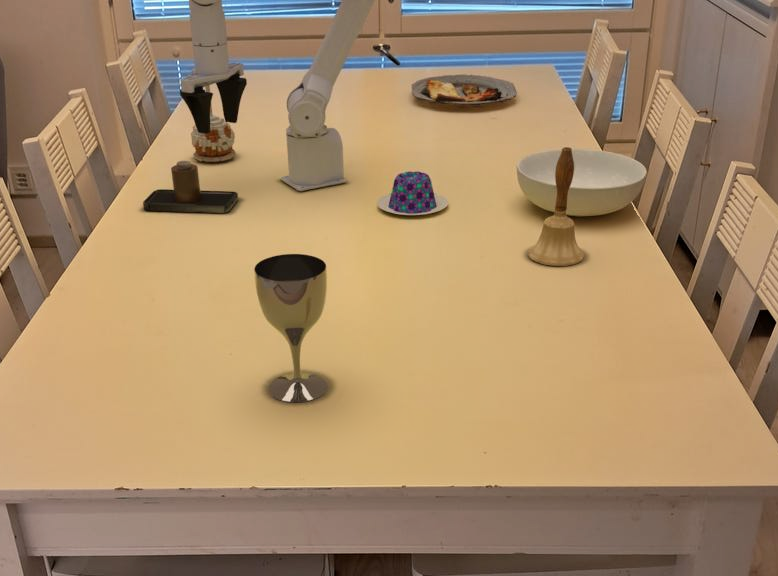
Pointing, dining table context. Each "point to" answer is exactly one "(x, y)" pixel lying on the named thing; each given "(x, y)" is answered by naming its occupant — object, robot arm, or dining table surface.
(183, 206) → the phone
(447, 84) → the food plate
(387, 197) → the pudding
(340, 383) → the dining table surface
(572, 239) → the hand bell
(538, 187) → the serving bowl
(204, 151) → the caramel apple
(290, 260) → the wine glass
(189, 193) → the salt shaker
